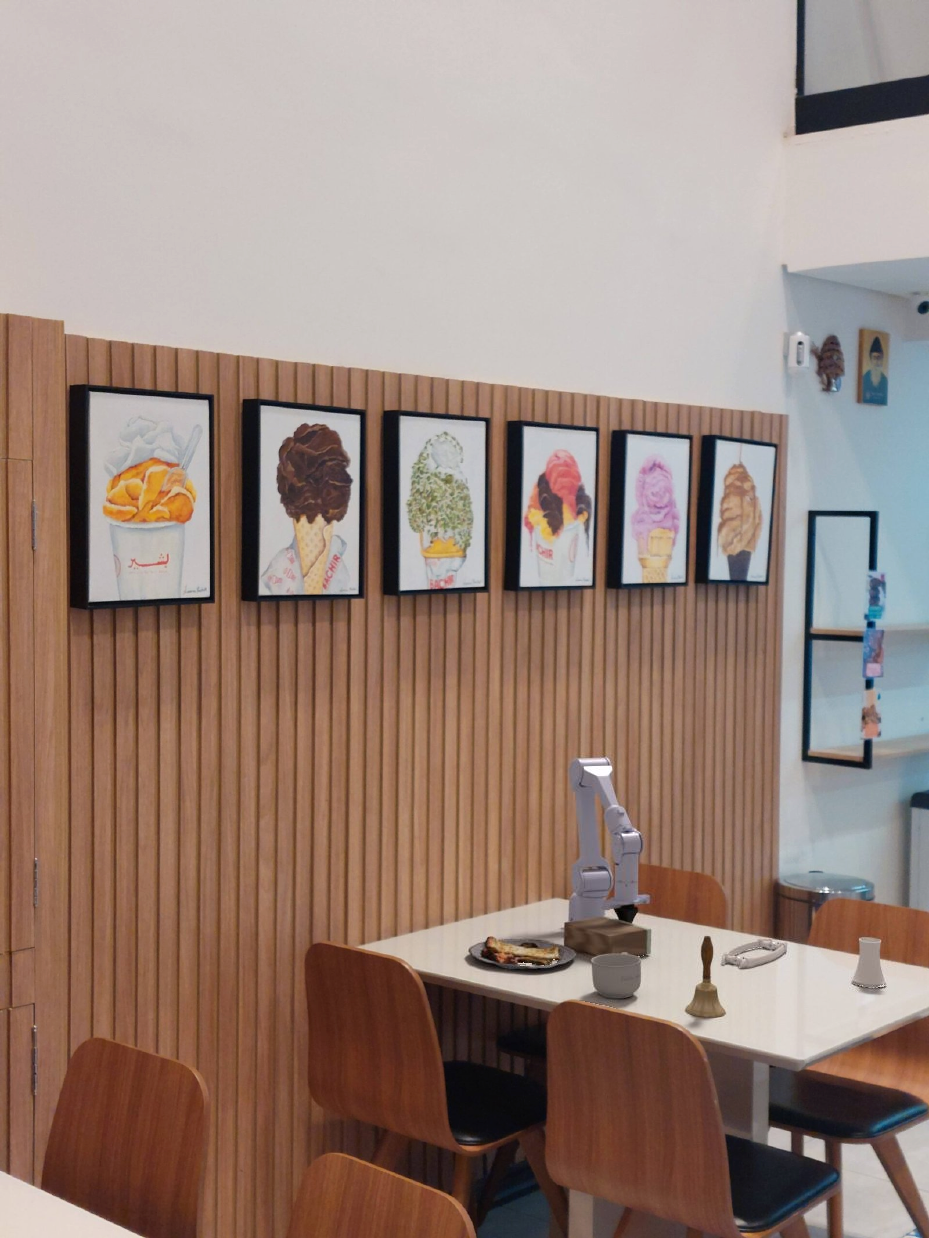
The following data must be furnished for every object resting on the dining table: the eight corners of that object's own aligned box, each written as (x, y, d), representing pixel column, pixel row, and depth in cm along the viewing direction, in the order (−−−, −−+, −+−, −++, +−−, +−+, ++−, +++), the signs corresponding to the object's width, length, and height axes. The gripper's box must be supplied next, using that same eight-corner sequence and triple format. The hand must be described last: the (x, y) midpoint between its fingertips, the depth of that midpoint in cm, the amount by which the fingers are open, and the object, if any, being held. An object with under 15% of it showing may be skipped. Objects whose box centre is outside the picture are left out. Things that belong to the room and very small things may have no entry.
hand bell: (730, 1017, 296) (732, 941, 296) (690, 1017, 295) (692, 940, 295) (720, 1005, 304) (721, 931, 304) (681, 1005, 304) (683, 931, 303)
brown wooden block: (563, 948, 349) (564, 922, 349) (600, 941, 356) (600, 916, 356) (608, 963, 336) (609, 936, 336) (645, 955, 344) (646, 929, 343)
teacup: (627, 1005, 303) (628, 967, 303) (581, 996, 309) (582, 959, 309) (654, 990, 315) (655, 953, 315) (610, 981, 321) (611, 946, 321)
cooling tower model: (876, 978, 328) (878, 935, 328) (892, 988, 321) (893, 943, 320) (845, 979, 327) (847, 936, 326) (860, 988, 319) (861, 944, 319)
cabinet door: (599, 939, 357) (600, 915, 357) (606, 938, 358) (607, 914, 358) (647, 954, 343) (647, 929, 343) (654, 953, 345) (654, 928, 345)
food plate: (456, 966, 331) (456, 950, 331) (484, 943, 353) (485, 929, 353) (561, 980, 323) (562, 964, 323) (583, 956, 346) (584, 941, 346)
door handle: (796, 952, 352) (750, 972, 332) (760, 945, 358) (712, 964, 338) (797, 941, 352) (750, 961, 332) (760, 934, 358) (712, 953, 338)
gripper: (616, 886, 345) (615, 942, 345) (658, 880, 354) (657, 934, 354) (596, 881, 350) (595, 936, 351) (638, 875, 359) (637, 929, 360)
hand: (625, 935), depth 353 cm, fingers closed
